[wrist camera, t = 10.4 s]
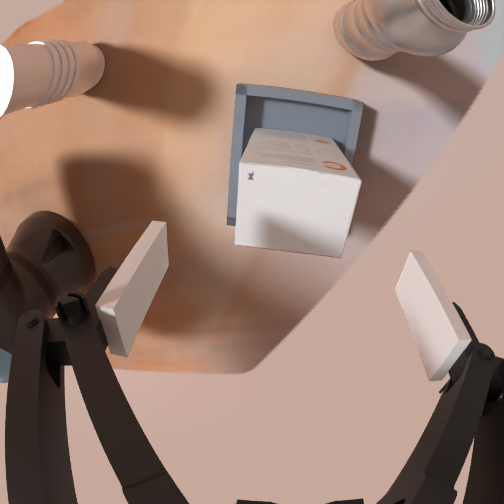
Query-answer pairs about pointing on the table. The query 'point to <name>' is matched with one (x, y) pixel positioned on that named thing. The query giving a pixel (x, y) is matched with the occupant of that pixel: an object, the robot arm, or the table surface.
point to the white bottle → (47, 72)
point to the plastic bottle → (408, 26)
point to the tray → (289, 122)
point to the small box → (295, 194)
